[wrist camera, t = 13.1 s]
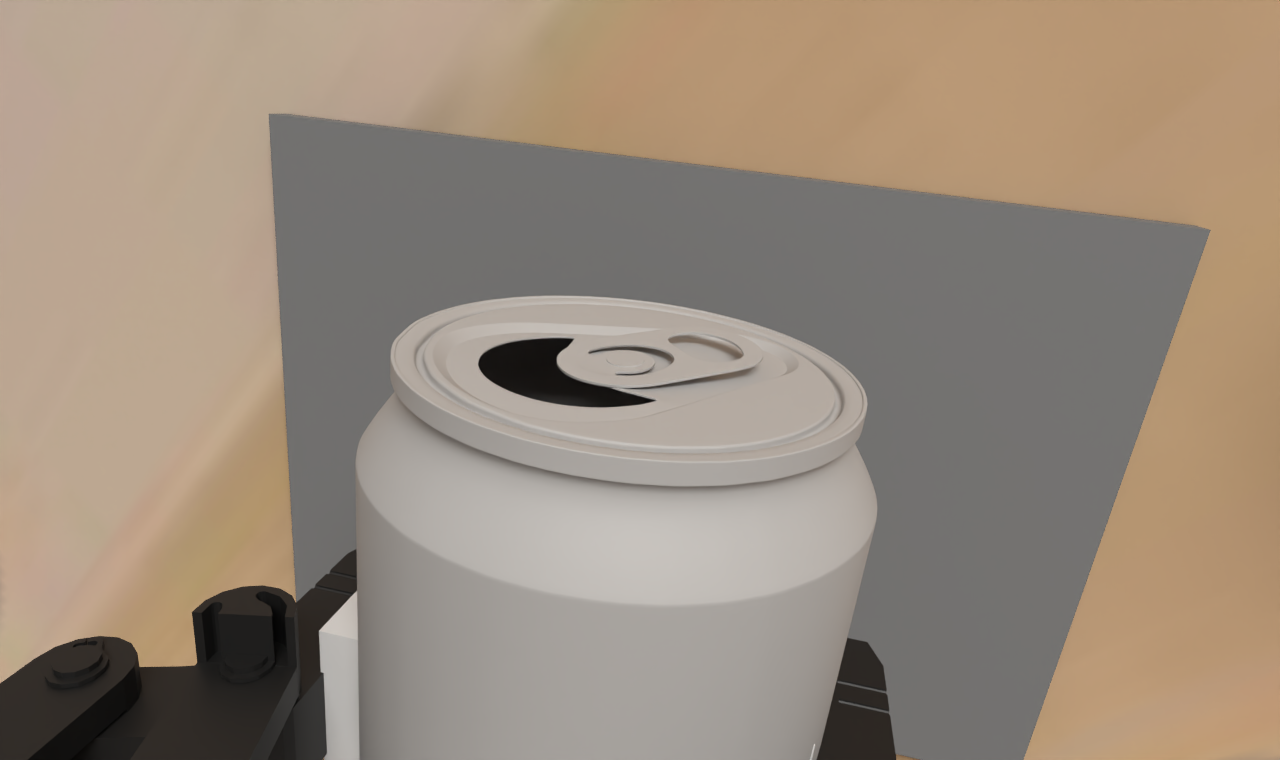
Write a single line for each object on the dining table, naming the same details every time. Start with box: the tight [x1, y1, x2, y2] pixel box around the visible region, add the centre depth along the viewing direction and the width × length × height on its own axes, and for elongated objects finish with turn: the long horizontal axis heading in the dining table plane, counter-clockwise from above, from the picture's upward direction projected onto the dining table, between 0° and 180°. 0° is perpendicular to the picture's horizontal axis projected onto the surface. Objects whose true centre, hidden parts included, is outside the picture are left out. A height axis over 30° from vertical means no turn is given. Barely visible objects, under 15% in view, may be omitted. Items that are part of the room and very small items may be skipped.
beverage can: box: [355, 296, 877, 760], centre depth 12 cm, size 6×6×12 cm
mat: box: [269, 114, 1210, 760], centre depth 19 cm, size 20×14×1 cm
